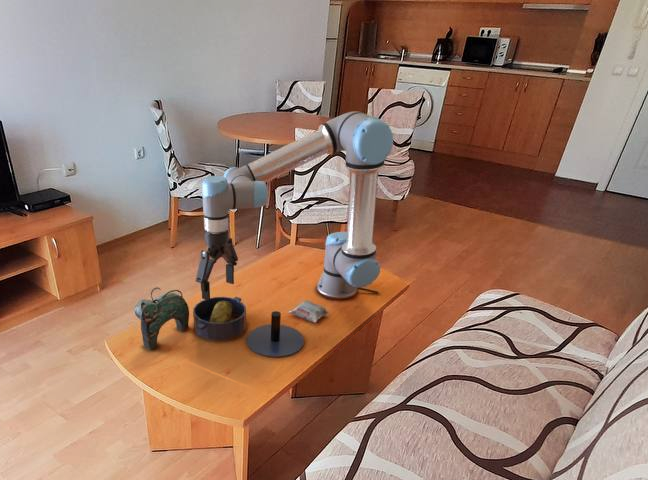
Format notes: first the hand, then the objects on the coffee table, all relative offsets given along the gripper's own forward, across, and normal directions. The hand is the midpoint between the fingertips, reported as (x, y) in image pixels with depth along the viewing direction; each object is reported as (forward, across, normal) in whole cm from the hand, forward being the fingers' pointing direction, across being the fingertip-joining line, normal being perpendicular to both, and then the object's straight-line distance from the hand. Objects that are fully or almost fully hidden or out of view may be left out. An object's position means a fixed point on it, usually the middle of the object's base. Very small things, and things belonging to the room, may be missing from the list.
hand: (218, 290), depth 166 cm
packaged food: (+14, -22, +23) cm, 35 cm away
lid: (+14, -2, +21) cm, 25 cm away
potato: (+14, 0, 0) cm, 14 cm away
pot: (+14, 0, 0) cm, 14 cm away
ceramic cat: (+15, +15, -12) cm, 24 cm away
